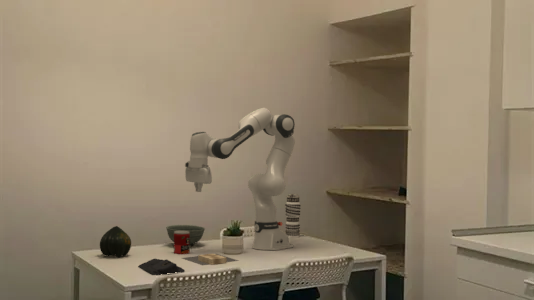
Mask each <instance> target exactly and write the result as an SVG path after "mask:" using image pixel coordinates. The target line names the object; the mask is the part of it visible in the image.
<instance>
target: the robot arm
mask: <svg viewBox="0 0 534 300" xmlns="http://www.w3.org/2000/svg"><path fill="white" fill-rule="evenodd" d="M237 125H238V130H237V131H235V132H234V133H233V134H231V135H229V136H228V137H225V138H216V137H214V136H212V135H210V134H208V133H207V132H206V131H198V132H195V133H192V134H191V135H190V140H189V152H190V156H189V160H188V161H187V162H184V167H185V174H184V175H185V181H186V182H188V183H189V182H190V183H193V186H194V189H195V192H197V193H202V188H203V186H204V185H205V184H206V185H207V184H208V185H211V184H212V183H213V182H212V181H213V177H212V170H211V168H210V165H208V158H209V157H210V158H213V159H217V158H218V159H221V160H226V159H228V158H230V156H232V154H233V153H234V151H235V150H236V149H237V148H238V147H239V146H241V145H242V144H243V143H244V142H246V141H247V140H248V139H250V138H251V137H253V136H255V135H257V134H258V133H260V132H262V130H263V132H264V133H265V134H267V136H268V135H269V136H271V137H272V136H274V143H273V144H272V147H271V150H270V151H269V154H268V156H267V157H266V159H265V163H266V165H267V167H266V172H265V174H264V173H257V174H254V175H251V176H250V178H249V179H248V181H247V186H248V188H249V190H250V192H251V194H252V196H253V200H254V201H253V202H254V206H255V220H254V238H253V243H252V246H251V248H252V249H255V250H261V251H262V250H264V251H279V250H284V249H290V248H294V244H292V243H290V237H288V236H287V234H285V233H286V232H284V231H283V230H282V229H281V228H279V227H282V226H283V225H284V224H283V222H282V221H277V205H276V204H275V202H274V200H273V197H277V196H280V195H282V194H283V193H284V192H285V190H286V183H285V178H284V177H285V171H286V168H287V166H288V163H289V161H290V158H291V156H292V153H293V150H294V148H295V144H296V140H295V137H294V136H293V134H294V132H295V131H294V130H295V127H296V126H295V120H294V118H293V117H292V116H291V115H290V114H283V113H282V114H275V115H273V114H272V112H271V111H270V110H269V109H268V108H266V107H261V108H258V109H255V110H254V111H251V112H249V113H248V114H246V115H245V116H244V117H243V116H242V118H241V119H240V120H239V122H238V124H237Z"/></svg>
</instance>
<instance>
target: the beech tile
mask: <svg viewBox="0 0 534 300" xmlns="http://www.w3.org/2000/svg"><path fill="white" fill-rule="evenodd" d="M216 254H217V253H207V254H199V255H197V256H198V261H201V262H205V263H208V264H210V265H212V266H215V265H221V264H227V263H228V262H227V258H226V257H227V256H225V257H223V256H224V255H222V256H220V255H221V254H219V255H216Z"/></svg>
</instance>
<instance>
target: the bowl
mask: <svg viewBox="0 0 534 300" xmlns="http://www.w3.org/2000/svg"><path fill="white" fill-rule="evenodd" d="M205 230H206V228H205V227H203V226H199V225H193V224H192V225H191V224H176V225H175V224H174V225H167V226H166V231H167V236H168V238H169V239H170V240H171V241H172V242H173V243H174V232H175V231H189V233H190V242H189V247H193V246H194V245H195V244H197V243H199V241H200V240H201V239H202V237H203V235H204V233H205V232H204V231H205Z"/></svg>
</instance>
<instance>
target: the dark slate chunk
mask: <svg viewBox="0 0 534 300" xmlns="http://www.w3.org/2000/svg"><path fill="white" fill-rule="evenodd" d="M137 268H139V269H140V270H142V271H144V272H145V273H147V274H149V275H151V276H162V275H161V274H167V273H175V272H181V273H185V269H183V268H182V266H181V267H180V266H178V265H177V263H174V262H173V261H171V260H169V259H159V258H153V259H150V260H147V261H146V262H143V263H141V264H139V265H138V266H137Z"/></svg>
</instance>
